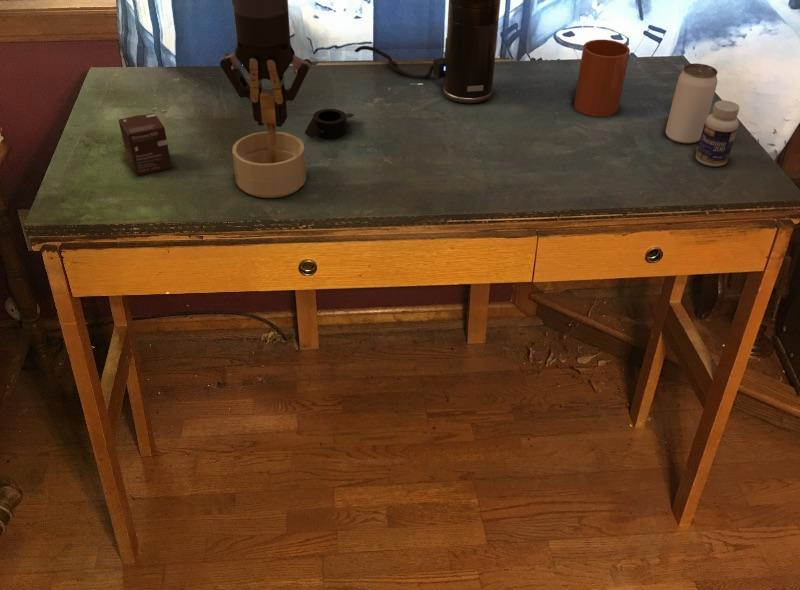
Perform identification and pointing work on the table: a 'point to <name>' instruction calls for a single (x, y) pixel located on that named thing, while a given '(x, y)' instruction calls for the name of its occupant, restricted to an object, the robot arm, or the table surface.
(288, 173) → the bowl
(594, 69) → the crock
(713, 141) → the pill bottle
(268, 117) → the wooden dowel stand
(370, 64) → the table surface
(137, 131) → the box
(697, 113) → the can
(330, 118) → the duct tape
